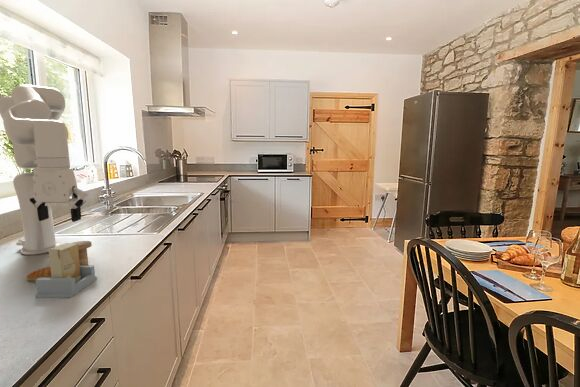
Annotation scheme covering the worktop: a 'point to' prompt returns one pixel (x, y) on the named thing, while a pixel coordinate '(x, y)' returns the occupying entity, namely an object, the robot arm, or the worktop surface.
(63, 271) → the skincare box
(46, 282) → the grey rectangular frame
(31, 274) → the pastry
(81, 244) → the wooden mushroom
